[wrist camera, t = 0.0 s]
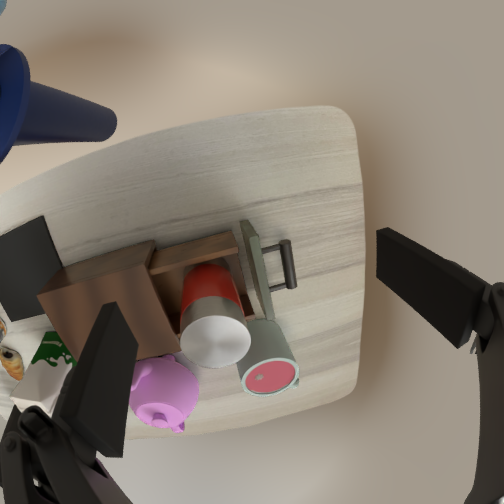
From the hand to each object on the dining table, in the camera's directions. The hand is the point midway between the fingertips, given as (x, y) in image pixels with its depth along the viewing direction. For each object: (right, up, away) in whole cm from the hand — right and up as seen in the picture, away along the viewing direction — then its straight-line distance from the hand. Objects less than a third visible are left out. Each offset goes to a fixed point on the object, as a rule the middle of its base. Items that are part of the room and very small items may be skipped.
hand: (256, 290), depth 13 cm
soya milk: (-36, -16, +29) cm, 49 cm away
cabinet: (-21, -5, +27) cm, 35 cm away
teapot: (-18, -21, +35) cm, 44 cm away
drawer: (-5, -1, +28) cm, 28 cm away
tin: (-7, -2, +27) cm, 28 cm away
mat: (-40, -2, +22) cm, 46 cm away
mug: (+2, -15, +37) cm, 40 cm away
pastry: (-55, -23, +28) cm, 66 cm away
